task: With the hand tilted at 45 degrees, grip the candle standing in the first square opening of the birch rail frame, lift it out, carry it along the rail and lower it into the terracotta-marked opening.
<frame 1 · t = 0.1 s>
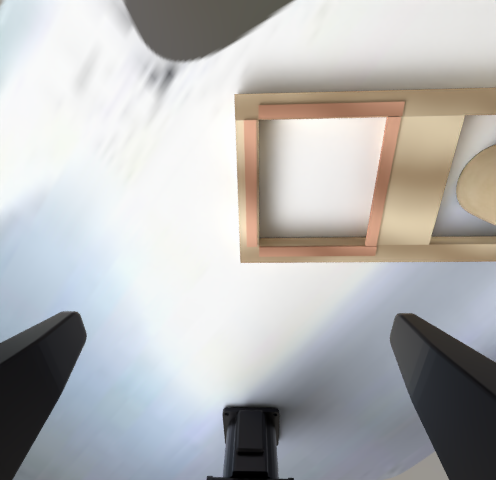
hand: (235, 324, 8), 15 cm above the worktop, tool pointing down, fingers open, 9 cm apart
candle: (491, 180, 20), resting in rail frame
rail frame: (405, 182, 20), on the worktop
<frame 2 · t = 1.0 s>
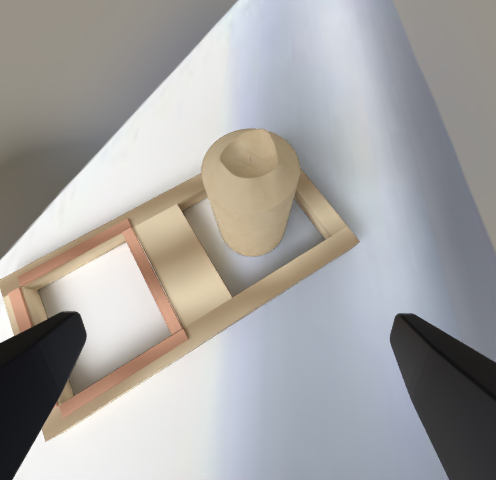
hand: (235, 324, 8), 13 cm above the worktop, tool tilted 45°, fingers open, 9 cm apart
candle: (252, 227, 23), resting in rail frame
rail frame: (184, 265, 22), on the worktop
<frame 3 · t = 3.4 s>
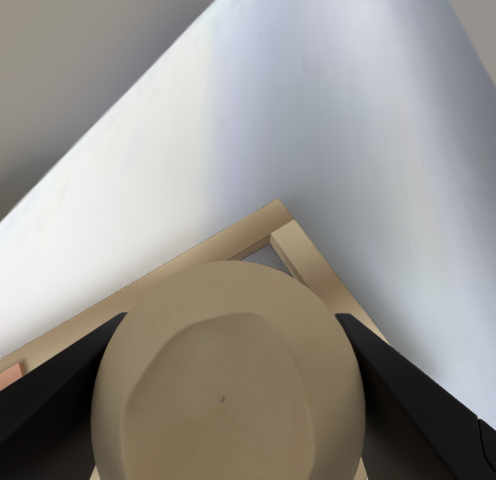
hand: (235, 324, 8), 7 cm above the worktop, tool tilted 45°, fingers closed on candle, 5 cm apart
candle: (244, 360, 14), resting in rail frame, touching gripper
rail frame: (123, 443, 12), on the worktop
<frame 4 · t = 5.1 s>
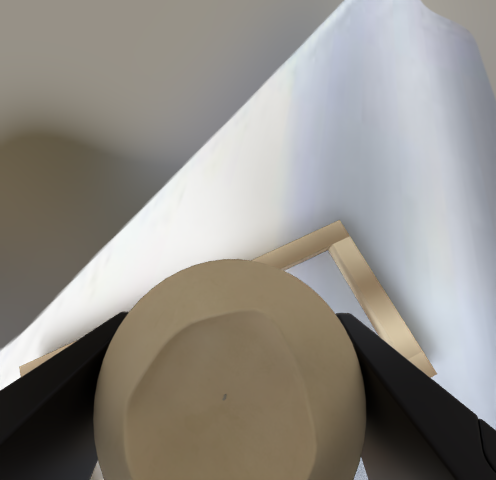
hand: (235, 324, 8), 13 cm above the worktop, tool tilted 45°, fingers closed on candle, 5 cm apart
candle: (245, 359, 14), point 6 cm above the worktop, touching gripper
rail frame: (225, 367, 19), on the worktop
when the fingers open (8 cm above the worktop, at t = 7.2 s): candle drops 1 cm, resting in rail frame.
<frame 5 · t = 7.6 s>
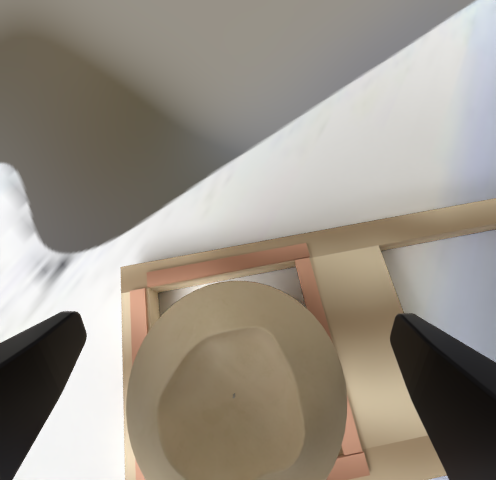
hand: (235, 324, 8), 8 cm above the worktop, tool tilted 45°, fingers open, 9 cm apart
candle: (246, 362, 15), resting in rail frame
rail frame: (360, 335, 15), on the worktop
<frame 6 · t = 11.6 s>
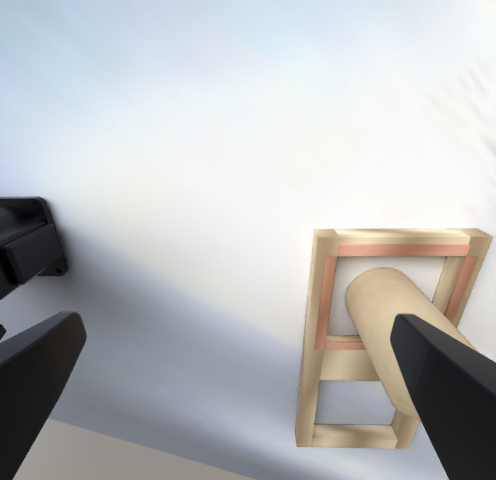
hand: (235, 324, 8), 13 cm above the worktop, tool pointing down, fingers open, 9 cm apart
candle: (376, 293, 23), resting in rail frame
rail frame: (366, 351, 26), on the worktop
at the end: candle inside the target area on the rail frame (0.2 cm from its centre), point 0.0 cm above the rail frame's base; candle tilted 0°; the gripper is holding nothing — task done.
